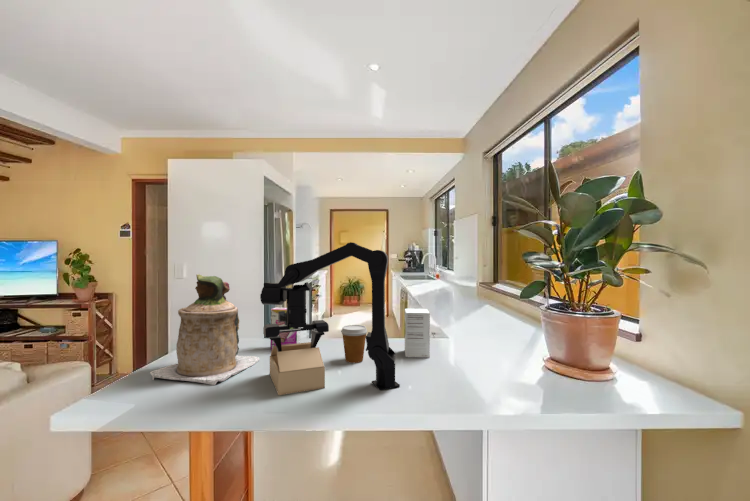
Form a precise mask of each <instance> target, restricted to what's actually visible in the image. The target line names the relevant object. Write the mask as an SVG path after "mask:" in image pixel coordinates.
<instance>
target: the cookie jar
mask: <svg viewBox="0 0 750 501" xmlns="http://www.w3.org/2000/svg"><path fill="white" fill-rule="evenodd" d="M196 280H197V281H196V282H195V283H196V286H195V290H196V293H197V294H198V298H197V299H196V300H195V301H194V302H193V303H191V304H189V305H188V306H187V307H186V306H185V307H182V308H180V309H178V310H177V313H178V314H177V315H178V316H179V317H180V323H179V329H178V334H177V335H178V337H177V341H176V357H177V363H174V364H170V365H168V366H167V365H166V366H164V367H161V368H157V369H155V370H151V371H150V372H149V374H150V375H151V376H152V380H153V381H154V380H155V379H157V378H158V379H164V380H172V381H183V382H184V381H186V382H193V383H199V384H205V385H211V386H215V385H217V383H218V382H224V381H227V380H228V379H229V378H230V377H232V376H233V377H234V376H235V375H237V374H239V373H241V372H243V371H245V370H247V369H248V368H250V367H252V366H255V365H256V364H257V363H258V362H260V357H259V356H253V355H249V356H248V355H238V354H239V350H240V348H239V343H240V338H239V333H238V331H239V329H240V327H239V326H240V318H239V309H238V307H237V306H235V304H233V303H232V302H230V301H228V300H227V297H226V295H225V294H227V293H228V292H229V291H230V289H231V288H230V284H229V283H228V282H227V281H223V279H222V278H221V277H219V276H215V275H213V276H212V275H210V276H209V275H207V276H205V275H202V274H200V273H198V274H196Z"/></svg>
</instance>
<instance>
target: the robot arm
mask: <svg viewBox="0 0 750 501" xmlns="http://www.w3.org/2000/svg"><path fill="white" fill-rule="evenodd" d="M350 257H353V258H356V259H357V260H359V261H361V262H365V263H367V265H368V266H367V267H368V271H369V275H370V281H371V332H370V331H367V333H366V339H365V343H366V348H365V351H366V352H367V356H368V357H369V358H370V359H371V360H372V361H373V362H374V366H375V380H371V384H372V385H374V387H376V388H377V389H379V390H381V391H384V390H387V389H388V390H389V389H393V388H400V387H401V384H400V383H398V382H396V363H395V362H396V356H397V353H396V352H395V350H393V349H392V348H391V346H390V343H389V338H388V333H387V329H386V303H385V302H386V298H385V297H386V295H385V294H386V291H385V290H386V288H385V287H386V286H385V284H386V277H387V276H386V275H387V272H388V266H389V265H388V264H389V256H388V254H387V253H386V251H383V250H381V249H380V250H379V249H374V250H372V249H369V248H367V247H364V246H362V245H360V244H358V243H356V242H351V241H350V242H347V243H346V244H345V245H342V246H340V247H337V248H334V249H333V250H331V251H328V252H326V253H324V254H322V255H320V256H317V257H314V258H313V259H309V260H304V261H299V262H297V263H292V264H289V265H287V266H286V267H285V268H284V275H283V276H282V277H281V279H280V280H279V281H278V282H269V281H267V282H264V283H263V287H262V289H261V291H260V294H259V296H260V298H259V299H260V303H261V304H262V305H265V306H266V305H269V306H271V305H273V306H282V305H283V304H284V303H285V302H286V308H287V312H286V313H285V311H279V312H278V321H279V322H285V325H287V326H279V325H278V324H271V323H269V324H264V326H263V330H262V331H263V336H264V337H265V338H268V339H269V340H270V341H271V340H274V342H275V345H276V347H277V350H278V352H281V351H282V347H281V337H280V336H279V334H280V333H283V332H294V331H300V332H304V331H310V333H311V334H310V335H311V336H310V337H311V338H310V342H311V347H310V348H317V345H318V343H319V342H320V339H321V337H322V336H324V335H325V333H328V332H329V331H330V330H329V326H330V325H329V323H328V322H327V321H326V320H323V319H319V320H318V319H317V320H312V321H311V323H307V292H308V291H312V290H313V289H314V287H313V286H311V285H310V284H309V282H308V281H306V280H308V279H309V278H311V277H312V276H313V275H314V274H316V273H317V272H319V271H320V270H323V269H325V268H327V267H330V266H332V265H334V264H336V263H338V262H341V261H344V260H346V259H348V258H350ZM304 281H306V282H304ZM301 282H304V283H303V284H299V283H301ZM288 286H292V287H288ZM290 328H293V329H290Z"/></svg>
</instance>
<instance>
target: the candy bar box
mask: <svg viewBox="0 0 750 501" xmlns="http://www.w3.org/2000/svg"><path fill="white" fill-rule="evenodd" d="M279 311H285V313H286V312H287V307H277V306H276V307H273V308H271V309H270V324H278V325H279V326H287V325H285V322H279V321H278V312H279ZM290 329H293V328H290ZM279 336H280V337H281V345H287V344H297V343H301V331H294V332H283V333H280V334H279ZM269 342H270V346H269V347H270V350H272V348H273V346H276V345H275V342H274V340H270V341H269Z"/></svg>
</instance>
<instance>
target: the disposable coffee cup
mask: <svg viewBox="0 0 750 501" xmlns="http://www.w3.org/2000/svg"><path fill="white" fill-rule="evenodd" d="M340 332H341V334H342V335H341V336H342V342H343V350H344V357H345V362H346V363H348V364H357V363H362V362H363V361H364V353H365V349H366V348H365V345H366V336H367V334H368V329H367V326H365V325H363V324H361V325H360V324H349V325H344V326H342V329H341V331H340Z"/></svg>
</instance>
